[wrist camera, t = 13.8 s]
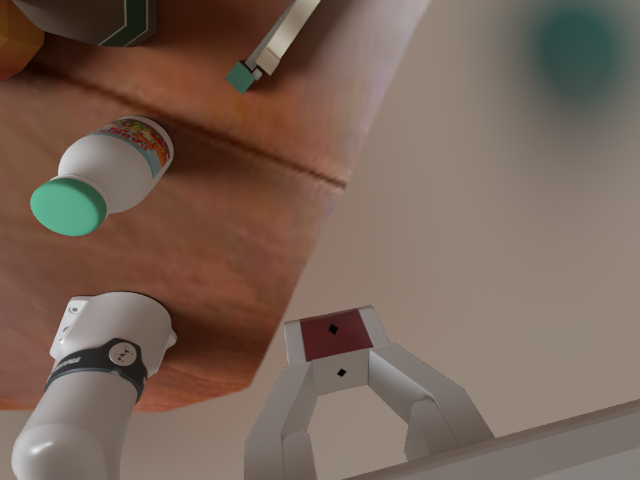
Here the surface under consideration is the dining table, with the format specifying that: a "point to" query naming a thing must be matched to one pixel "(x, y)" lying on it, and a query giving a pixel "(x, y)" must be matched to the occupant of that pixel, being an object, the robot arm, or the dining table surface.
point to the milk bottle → (103, 175)
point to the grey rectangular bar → (285, 34)
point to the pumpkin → (16, 39)
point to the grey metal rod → (265, 41)
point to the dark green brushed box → (242, 77)
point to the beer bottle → (95, 19)
